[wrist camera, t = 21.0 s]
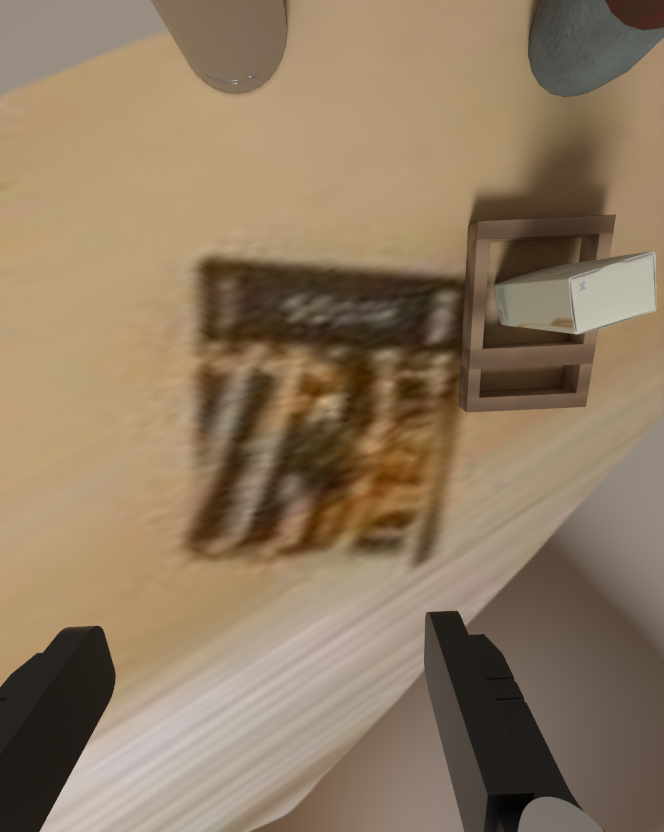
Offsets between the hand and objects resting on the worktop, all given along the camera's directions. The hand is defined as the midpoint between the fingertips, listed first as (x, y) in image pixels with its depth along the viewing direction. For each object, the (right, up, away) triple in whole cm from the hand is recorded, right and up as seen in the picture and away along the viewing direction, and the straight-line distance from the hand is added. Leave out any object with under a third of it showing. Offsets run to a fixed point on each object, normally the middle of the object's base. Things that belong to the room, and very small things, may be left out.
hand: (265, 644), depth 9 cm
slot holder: (+21, +16, +30) cm, 40 cm away
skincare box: (+22, +18, +30) cm, 41 cm away
